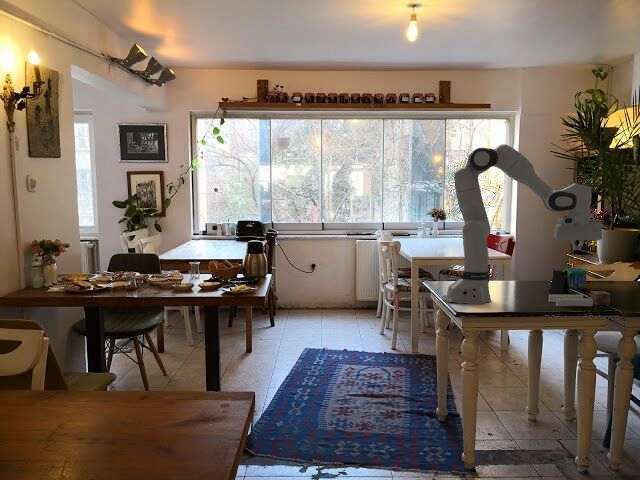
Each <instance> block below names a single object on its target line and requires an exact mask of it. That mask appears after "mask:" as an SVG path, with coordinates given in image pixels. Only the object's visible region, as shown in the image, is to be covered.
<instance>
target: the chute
mask: <svg viewBox="0 0 640 480" xmlns="http://www.w3.org/2000/svg"><path fill="white" fill-rule="evenodd" d="M584 296H585V295H584V294H548V302H549V303H551V304H553V305H555V306H556V307H593V299H590V298H584Z"/></svg>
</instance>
